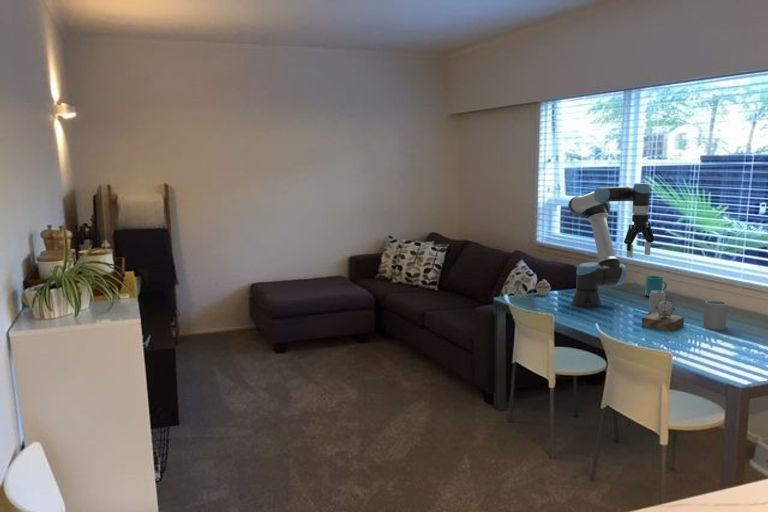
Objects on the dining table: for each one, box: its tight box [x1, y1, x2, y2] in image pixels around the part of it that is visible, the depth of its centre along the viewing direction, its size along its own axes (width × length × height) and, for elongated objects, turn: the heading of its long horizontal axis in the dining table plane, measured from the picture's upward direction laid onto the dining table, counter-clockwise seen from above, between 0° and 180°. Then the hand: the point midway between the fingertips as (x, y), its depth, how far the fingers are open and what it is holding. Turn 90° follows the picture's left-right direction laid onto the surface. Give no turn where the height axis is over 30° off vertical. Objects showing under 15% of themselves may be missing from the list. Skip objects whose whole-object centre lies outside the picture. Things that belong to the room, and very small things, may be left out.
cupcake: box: [535, 278, 552, 297], centre depth 355 cm, size 9×9×10 cm
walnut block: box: [641, 312, 685, 333], centre depth 284 cm, size 14×14×5 cm
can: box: [648, 290, 666, 314], centre depth 306 cm, size 8×8×12 cm
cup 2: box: [703, 300, 728, 331], centre depth 279 cm, size 9×9×12 cm
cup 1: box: [644, 275, 668, 297], centre depth 347 cm, size 9×12×11 cm
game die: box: [656, 299, 676, 318], centre depth 283 cm, size 9×8×10 cm
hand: (638, 256), depth 300 cm, fingers open, 13 cm apart
